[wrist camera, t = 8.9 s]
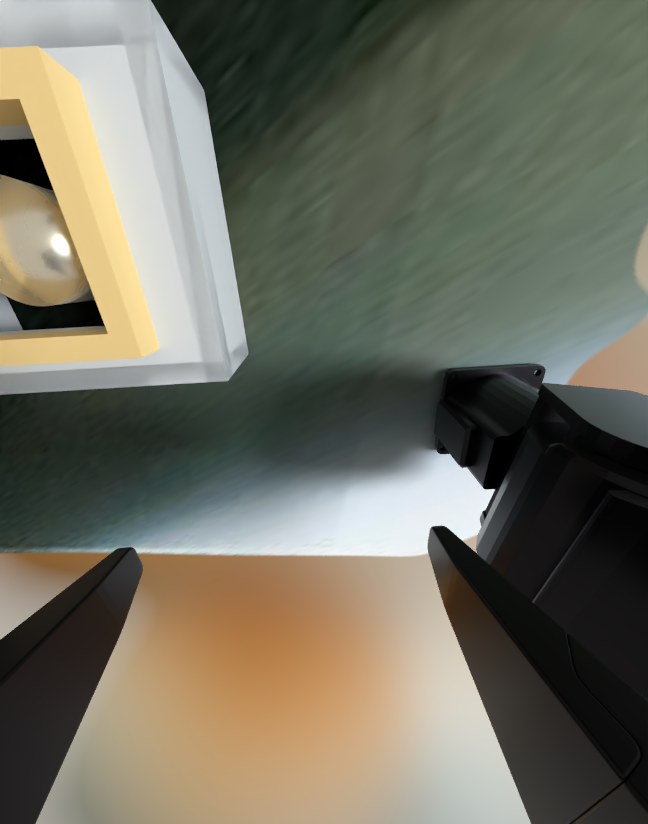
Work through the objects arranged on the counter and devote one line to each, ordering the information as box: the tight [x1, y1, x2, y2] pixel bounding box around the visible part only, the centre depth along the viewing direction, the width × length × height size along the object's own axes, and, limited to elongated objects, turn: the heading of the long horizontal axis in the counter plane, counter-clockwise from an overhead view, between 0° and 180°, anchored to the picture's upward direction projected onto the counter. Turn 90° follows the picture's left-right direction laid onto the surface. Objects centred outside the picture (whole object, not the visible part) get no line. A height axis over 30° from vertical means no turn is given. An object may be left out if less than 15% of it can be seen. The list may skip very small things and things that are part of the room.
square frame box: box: [0, 0, 248, 395], centre depth 12 cm, size 14×12×6 cm
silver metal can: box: [0, 175, 95, 306], centre depth 13 cm, size 4×4×5 cm
